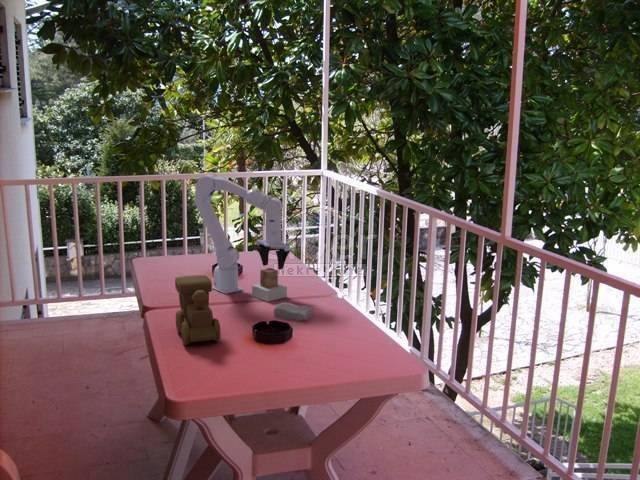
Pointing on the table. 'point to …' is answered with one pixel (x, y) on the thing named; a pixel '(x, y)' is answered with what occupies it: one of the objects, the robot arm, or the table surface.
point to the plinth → (269, 292)
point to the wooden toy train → (195, 310)
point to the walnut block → (269, 278)
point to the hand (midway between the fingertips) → (273, 266)
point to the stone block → (293, 312)
